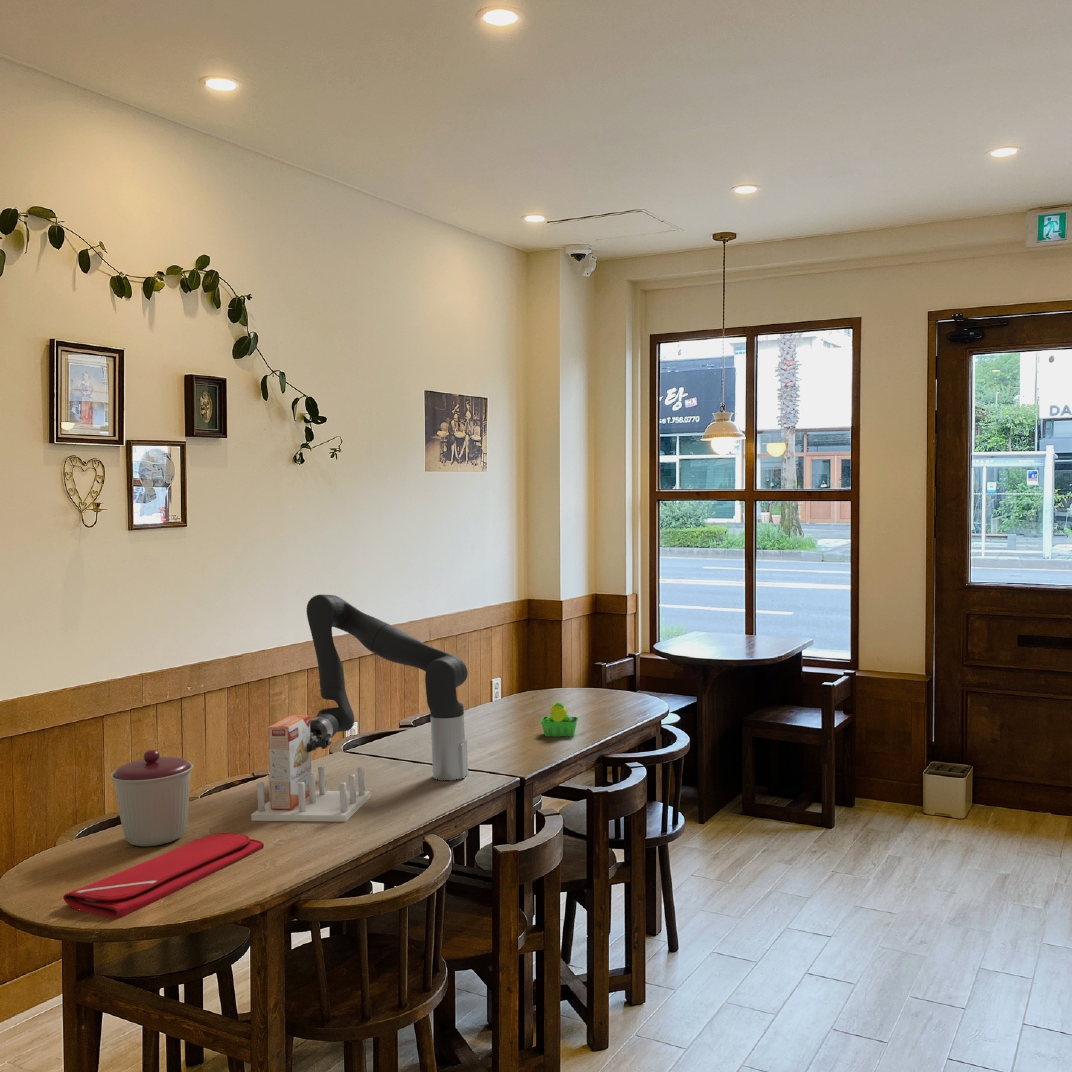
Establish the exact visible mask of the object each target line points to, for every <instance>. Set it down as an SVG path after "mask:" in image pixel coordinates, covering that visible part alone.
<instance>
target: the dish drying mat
mask: <svg viewBox="0 0 1072 1072" xmlns="http://www.w3.org/2000/svg"><path fill="white" fill-rule="evenodd" d="M262 849H264V842H262V841H261V840H258V839H252V838H250V836H249V835H245V834H241V833H233V832H219V833H213V834H210V835H207V836H202V837H199V838H197V839H195V840H192V841H190V842H188V843H186V844H184V845H181V846H178V847H177V848H174V849H172V850H170V851H167V852H165V853H163V854H161V855H158V856H156V857H154V858H151V859H149V860H146V861H143V862H141V863H138V864H135V865H134V866H131V867H129V868H127V869H123V870H122V871H119V872H117V873H115V874H112V875H110V876H106V877H104V878H102V879H99V880H97V881H95V882H93V883H90V884H87V885H85V886H82V887H80V888H76V889H73V890H72V891H70V892H67V893H65V894H64V895H63V900H64V902H65V903H66V904H67V905H68V906H70V907H71V908H72V909H74V910H76V909H78V910H77V911H79V909H80V910H82V911H81V912H83V911H84V913H88V912H90V913H89V914H94V915H99V916H103V917H104V916H105V917H109V918H114V919H119V918H122V917H125V916H127V915H129V914H131V913H133V912H136V911H137V910H140V909H141V908H144V907H147V906H148V905H150V904H152V903H154V902H157V901H158V900H160V899H161V900H162V899H163V898H165V897H167V896H169V895H172V894H173V893H175V892H178V891H179V890H182V889H184V888H186V887H187V886H189V885H192V884H193V883H196V882H197V881H200V880H202V879H204V878H206V877H208V876H210V875H212V874H214V873H216V872H219V871H221V870H222V869H224V868H226V867H228V866H230V865H232V864H234V863H237V862H238V861H240V860H242V859H244V858H246V857H249V856H250V855H252V854H254V853H256V852H258V851H260V850H262Z"/></svg>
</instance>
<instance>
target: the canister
mask: <svg viewBox="0 0 1072 1072" xmlns="http://www.w3.org/2000/svg"><path fill="white" fill-rule="evenodd" d="M193 769H194V764H193V763H192V762H191V761H188V760H187V759H184V758H181V757H177V756H176V757H174V756H160V752H159V751H158V750H156V749H148V750H147V751H145V753H143V759H138V760H134V761H131V762H127V763H125V764H123V765H120V766H119V767H118V768H117V769H115V770H114V771H113V772H111V773H110V774H109V775H110V779H111V780H112V781H113V783H114V790H115V796H116V802H117V807H118V812H119V819H120V822H121V823H120V824H121V829H122V833H123V836H124V839H125V840H126V841H127V842H128V843H129V844H130V845H133V846H137V847H154V846H155V847H156V846H161V845H165V843H166V844H168V843H171V842H173V841H177V840H178V839H180V837H182V836H183V835H184V833H185V831H186V829H187V825H188V815H189V804H190V803H189V802H190V786H191V785H190V784H191V771H192V770H193Z"/></svg>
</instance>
